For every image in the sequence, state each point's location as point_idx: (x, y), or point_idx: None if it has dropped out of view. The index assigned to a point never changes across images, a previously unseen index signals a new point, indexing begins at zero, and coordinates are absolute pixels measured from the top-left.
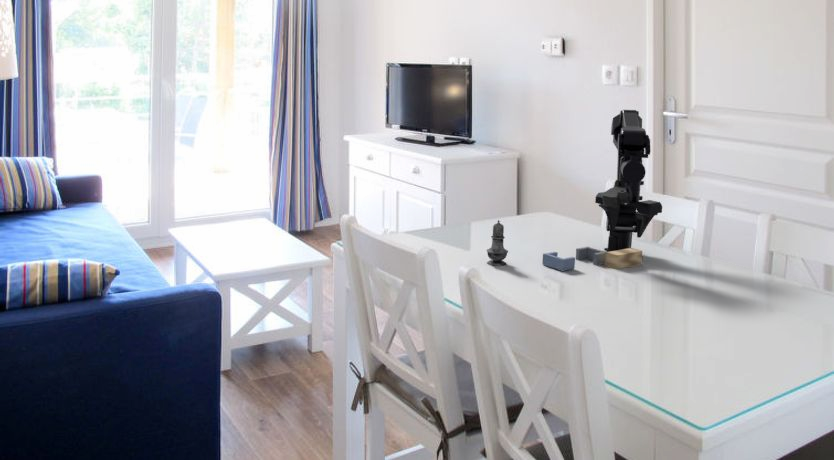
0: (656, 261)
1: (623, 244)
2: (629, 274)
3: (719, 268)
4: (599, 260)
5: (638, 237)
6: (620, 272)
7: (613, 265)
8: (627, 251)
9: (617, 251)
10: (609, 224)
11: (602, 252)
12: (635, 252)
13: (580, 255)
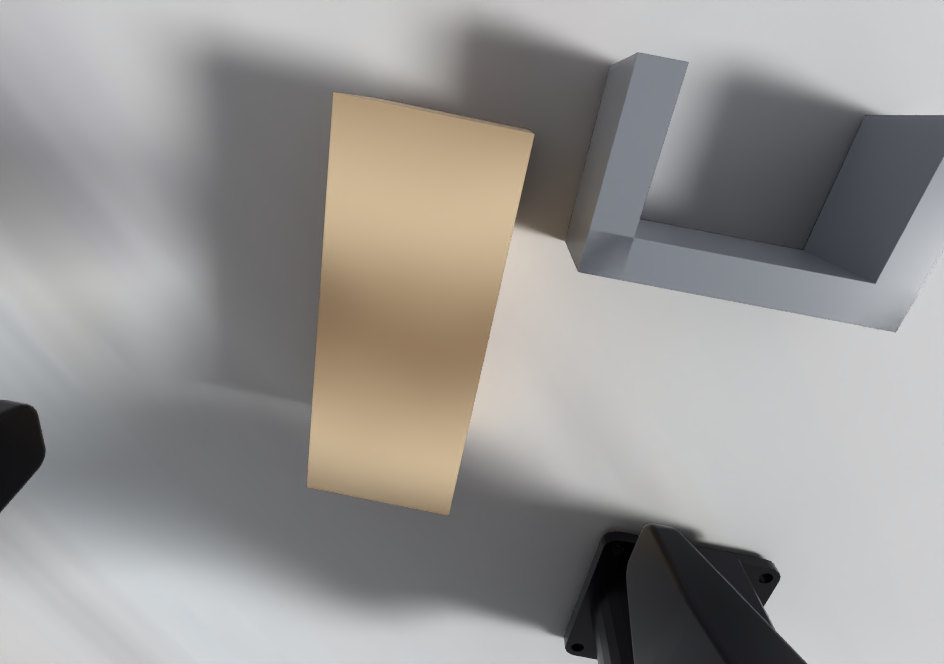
0: (333, 541)
1: (625, 631)
2: (170, 11)
3: (28, 625)
4: (603, 125)
5: (6, 403)
6: (271, 6)
7: (411, 105)
8: (382, 370)
9: (454, 288)
10: (761, 625)
11: (623, 212)
12: (314, 402)
13: (881, 149)
